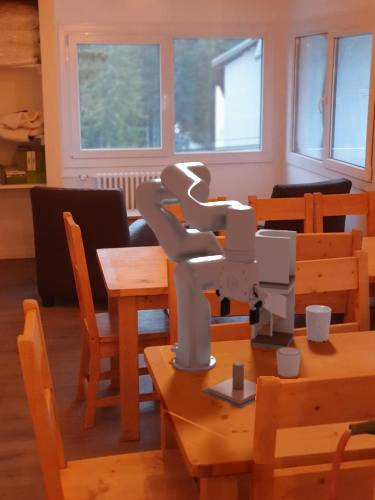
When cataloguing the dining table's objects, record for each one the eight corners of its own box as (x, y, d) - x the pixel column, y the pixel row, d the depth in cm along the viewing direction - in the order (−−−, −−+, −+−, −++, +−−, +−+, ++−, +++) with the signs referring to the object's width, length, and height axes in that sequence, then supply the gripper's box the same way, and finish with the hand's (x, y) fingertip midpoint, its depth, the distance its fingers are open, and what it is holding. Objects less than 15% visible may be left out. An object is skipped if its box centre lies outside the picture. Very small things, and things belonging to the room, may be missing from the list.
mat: (200, 393, 186) (200, 391, 186) (235, 377, 195) (235, 376, 195) (240, 409, 176) (240, 408, 176) (275, 392, 186) (275, 391, 185)
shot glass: (299, 380, 193) (300, 356, 192) (274, 378, 195) (275, 354, 193) (300, 370, 200) (301, 347, 198) (276, 368, 201) (277, 345, 200)
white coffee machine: (250, 345, 219) (251, 235, 211) (258, 334, 229) (260, 229, 221) (286, 350, 215) (289, 238, 207) (293, 338, 225) (296, 231, 217)
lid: (208, 391, 185) (208, 364, 184) (236, 379, 193) (236, 353, 191) (240, 404, 178) (240, 376, 176) (267, 391, 185) (268, 364, 184)
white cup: (304, 342, 222) (305, 312, 219) (305, 333, 229) (305, 304, 227) (330, 343, 220) (331, 313, 218) (329, 335, 228) (330, 305, 226)
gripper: (204, 252, 181) (205, 315, 184) (257, 263, 169) (256, 330, 173) (224, 247, 186) (224, 309, 190) (276, 257, 174) (275, 323, 178)
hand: (239, 319), depth 181 cm, fingers open, 9 cm apart
